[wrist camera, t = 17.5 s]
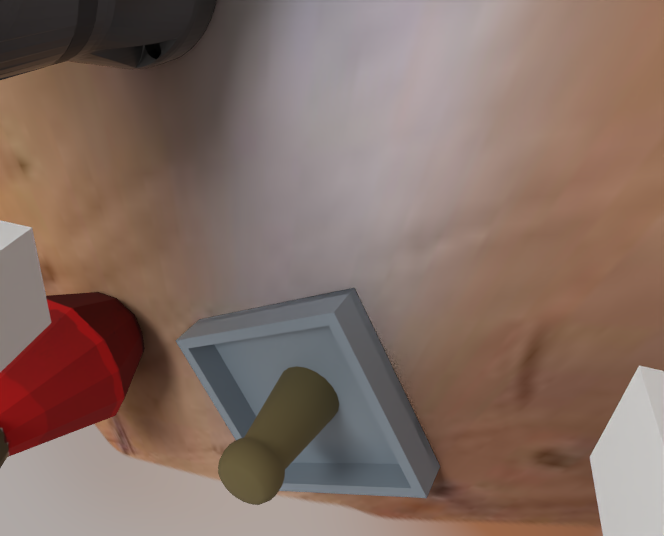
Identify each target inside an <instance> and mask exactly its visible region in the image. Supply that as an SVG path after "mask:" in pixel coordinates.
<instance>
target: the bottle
mask: <svg viewBox="0 0 664 536" xmlns="http://www.w3.org/2000/svg"><path fill="white" fill-rule="evenodd" d="M46 299H47V304H48V309H49V313H50V318H51V324H50V325H49V326H48V327H47V328H46V329H45V330H44V331H43V332H41V333H40V334H39V335H38V336H37V337H36V338H35V339H34V340H33V341H32V342H31V343H30V344H29V345H28V346H27V347H26V348H25V349H24V350H23V351H22V352H21V353H20V354H19V355H18V356H17V357H16V358H15V359H14V360H13V361H12V362H11V363H10V364H8V365H7V366H6V367H5V368H4V369H3V370H2V371H1V372H0V468H1V466H2V464H3V463H4V461H5V460H6V458H7V457H9V456H11V455H14V454H16V453H19V452H22V451H24V450H27V449H29V448H32V447H34V446H37V445H40V444H42V443H45V442H48V441H50V440H53V439H55V438H58V437H61V436H63V435H66V434H68V433H71V432H74V431H76V430H79V429H81V428H84V427H87V426H89V425H92V424H95V423H97V422H100V421H102V420H105V419H108V418H110V417H113V416H115V415H116V414H117V412H118V410H119V408H120V406H121V404H122V402H123V400H124V398H125V396H126V393H127V391H128V388H129V386H130V383H131V381H132V378H133V376H134V373H135V371H136V368H137V366H138V363H139V361H140V358H141V356H142V353H143V351H144V343H143V335H142V331H141V329H140V327H139V324H138V322H137V320H136V318H135V316H134V314H133V313H131V312H130V311H129V310H128V309H127V308H126V307H125V306H124V305H123V304H122V303H121V302H120V301H119V300H118V299H117V298H114V297H111V296H108V295H105V294H102V293H100V292H94V293H80V294H66V295H51V296H46Z"/></svg>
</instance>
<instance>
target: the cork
mask: <svg viewBox="0 0 664 536" xmlns="http://www.w3.org/2000/svg"><path fill="white" fill-rule="evenodd" d="M338 409H339V400H338V396H337V394H336V392H335V390H334V388H333V387H332V386H331V384H330V383H329V382H328V381H327V380H326V379H325V378H324V377H322V376H321V375H319V374H318V373H317V372H315V371H312V370H310V369H308V368H304V367H298V366H296V367H290V368H288V369H286V370H285V371H283V373H282V375H281V376H280V378H279V380H278V381H277V383H276V385H275V386H274V388H273V390H272V391H271V393H270V395H269V397H268V398H267V400H266V402H265V403H264V405H263V407H262V408H261V410H260V412H259V413H258V415H257V417H256V418H255V420H254V422H253V423H252V425H251V427H250V428H249V430H248V432H247V434H246V435H245V437H244V438H240V439H238V440H236V441H234V442H233V443H231V444H230V445H229V446H228V447H227V448H226V449H225V450H224V452H223V454H222V456H221V458H220V460H219V466H218V474H219V476H220V479H221V481H222V483H223V484H224V486H225V487H226V488H227V490H228V491H229V492H230V493H231V494H232V495H234V496H235V497H237V498H238V499H240V500H242V501H243V502H247V503H250V504H255V505H259V504H262V503H265V502H267V501H269V500H271V499H272V498H273V497H274V496H275V495H276V494H277V492H278V491H279V489H280V488H281V486H282V484H283V481H284V477H285V469H286V468H287V467H288V466H289V465H290V464H291V463H292V462H293V461H294V459H295V458H296V457H297V456H298V455H299V454H300V453H301V452H302V451H303V450H304V449H305V448H306V447H307V445H308V444H309V443H310V442H311V441H312V440H313V439H314V438H315V437H316V436H317V435H318V434H319V433H320V431H321V430H322V429H323V428H324V427H325V426H326V425H327V424H328V423H329V422H330V421H331V420H332V419H333V417H334V416H335V415H336V414H337V412H338Z"/></svg>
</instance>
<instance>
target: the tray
mask: <svg viewBox="0 0 664 536" xmlns="http://www.w3.org/2000/svg"><path fill="white" fill-rule="evenodd" d="M176 342H177V344H178V345H179V347H180V349H181V350H182V352H183V354H184V355H185V357H186V359H187V360H188V362H189V364H190V365H191V367H192V369H193V370H194V372H195V374H196V375H197V377H198V378H199V380H200V382H201V383H202V385H203V387H204V388H205V390H206V392H207V393H208V395H209V397H210V398H211V400H212V402H213V403H214V405H215V407H216V408H217V410H218V411H219V413H220V415H221V416H222V418H223V420H224V421H225V423H226V425H227V426H228V428H229V430H230V431H231V433H232V435H233V436H234V438H235V440H238V439H240V438H244V437H245V435H246V434H247V432H248V430H249V428H250V427H251V425H252V423H253V422H254V420H255V418H256V417H257V415H258V413H259V412H260V410H261V408H262V407H263V405H264V403H265V402H266V400H267V398H268V397H269V395H270V393H271V391H272V390H273V388H274V386H275V385H276V383H277V381H278V380H279V378H280V376H281V375H282V373H283V371H285V370H286V369H288V368H290V367H296V366H298V367H304V368H308V369H310V370H312V371H315V372H317V373H318V374H319V375H321V376H322V377H324V378H325V379H326V380H327V381H328V382H329V383H330V384H331V386H332V387H333V388H334V390H335V392H336V394H337V396H338V400H339V409H338V412H337V414H336V415H335V416H334V417H333V419H332V420H331V421H330V422H329V423H328V424H327V425H326V426H325V427H324V428H323V429H322V430H321V431H320V433H319V434H318V435H317V436H316V437H315V438H314V439H313V440H312V441H311V442H310V443H309V444H308V445H307V447H306V448H305V449H304V450H303V451H302V452H301V453H300V454H299V455H298V456H297V457H296V458H295V459H294V461H293V462H292V463H291V464H290V465H289V466H288V467H287V468H286V469H285V477H284V481H283V484H282V486H281V488H280V489H279V491H296V492H316V493H337V494H357V495H377V496H397V497H418V498H427V496H428V494H429V491H430V489H431V487H432V484H433V482H434V480H435V477H436V475H437V472H438V470H439V468H440V465H439V463H438V461H437V459H436V457H435V455H434V453H433V451H432V448H431V446H430V444H429V442H428V440H427V438H426V436H425V434H424V432H423V430H422V428H421V426H420V424H419V421H418V419H417V417H416V415H415V413H414V411H413V409H412V407H411V405H410V403H409V401H408V399H407V397H406V394H405V392H404V390H403V388H402V386H401V384H400V382H399V380H398V378H397V376H396V374H395V372H394V370H393V367H392V365H391V363H390V361H389V359H388V357H387V355H386V353H385V351H384V349H383V347H382V345H381V343H380V340H379V338H378V336H377V334H376V332H375V330H374V328H373V326H372V324H371V322H370V320H369V318H368V316H367V313H366V311H365V309H364V307H363V305H362V303H361V301H360V299H359V297H358V295H357V293H356V291H355V289H354V288H351V289H346V290H341V291H336V292H331V293H327V294H322V295H317V296H312V297H307V298H302V299H297V300H292V301H287V302H282V303H277V304H273V305H268V306H263V307H258V308H253V309H248V310H243V311H238V312H233V313H228V314H223V315H219V316H214V317H209V318H204V319H199V320H198V321H197V322H196V323H195V324H194V325H193V326H191V327H190V328H189V329H188V330H187V331H186V332H185V333H183V334H182V335H181V336H180V337H179V338H178V339H177V340H176Z"/></svg>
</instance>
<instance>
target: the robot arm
mask: <svg viewBox="0 0 664 536" xmlns="http://www.w3.org/2000/svg"><path fill="white" fill-rule="evenodd" d="M215 3H216V0H0V80H2V79H6V78H9V77H13V76H16V75H20V74H23V73H26V72H30V71H33V70H37V69H40V68H43V67H46V66H49V65H53V64H57V63H61V62H65V61H71V62H78V63H86V64H94V65H101V66H109V67H116V68H124V69H142V68H149V67H152V66H156V65H159V64H162V63H165V62H168V61H171V60H174V59H176V58H178V57H180V56H182V55H183V54H185V53H186V52H187V51H189V50H190V49H191V48H192V47H193V46H194V45H195V44H196V43H197V41H198V40H199V39H200V38H201V36H202V34H203V33H204V31H205V29H206V28H207V26H208V24H209V21H210V19H211V16H212V13H213V11H214V7H215ZM50 324H51V318H50V313H49V309H48V304H47V299H46V294H45V289H44V284H43V279H42V274H41V269H40V264H39V259H38V254H37V249H36V244H35V239H34V235H33V230H32V228H31V227H27V226H23V225H18V224H14V223H9V222H5V221H0V372H1V371H2V370H3V369H4V368H5V367H6V366H7V365H8V364H10V363H11V362H12V361H13V360H14V359H15V358H16V357H17V356H18V355H19V354H20V353H21V352H22V351H23V350H24V349H25V348H26V347H27V346H28V345H29V344H30V343H31V342H32V341H33V340H34V339H35V338H36V337H37V336H38V335H39V334H40V333H41V332H43V331H44V330H45V329H46V328H47V327H48V326H49V325H50ZM590 462H591V468H592V474H593V479H594V485H595V491H596V497H597V503H598V509H599V515H600V521H601V526H602V532H603V536H664V371H661V370H657V369H652V368H648V367H644V366H639V367H638V369H637V371H636V372H635V374H634V376H633V378H632V380H631V382H630V383H629V385H628V387H627V389H626V391H625V393H624V395H623V396H622V398H621V400H620V402H619V404H618V406H617V408H616V409H615V411H614V413H613V415H612V417H611V419H610V420H609V422H608V424H607V426H606V428H605V430H604V432H603V433H602V435H601V437H600V439H599V441H598V443H597V445H596V446H595V448H594V450H593V452H592V454H591V456H590Z"/></svg>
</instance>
